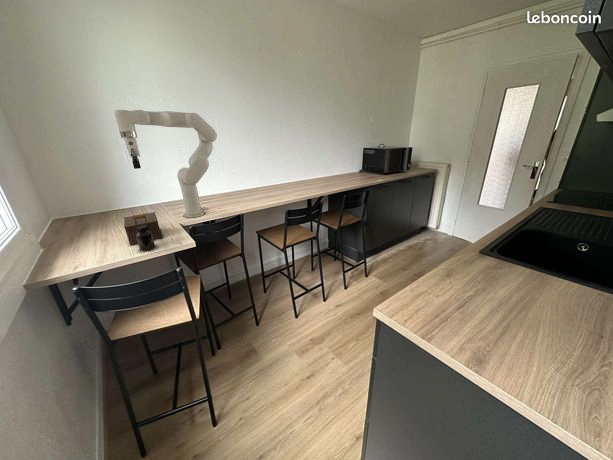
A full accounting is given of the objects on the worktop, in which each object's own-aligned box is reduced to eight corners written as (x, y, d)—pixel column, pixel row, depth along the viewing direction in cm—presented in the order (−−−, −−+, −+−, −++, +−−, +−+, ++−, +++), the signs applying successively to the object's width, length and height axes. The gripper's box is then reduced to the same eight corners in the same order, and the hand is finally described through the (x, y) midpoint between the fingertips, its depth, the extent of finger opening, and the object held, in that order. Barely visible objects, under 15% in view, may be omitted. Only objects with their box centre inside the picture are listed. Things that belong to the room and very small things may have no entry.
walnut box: (162, 238, 138) (157, 221, 134) (130, 245, 130) (124, 228, 126) (159, 229, 150) (155, 213, 146) (130, 235, 142) (124, 218, 138)
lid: (158, 222, 133) (155, 213, 131) (124, 228, 125) (121, 218, 123) (155, 213, 146) (152, 204, 143) (124, 218, 138) (121, 209, 136)
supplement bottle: (157, 248, 127) (151, 226, 122) (142, 253, 122) (135, 230, 118) (152, 244, 131) (146, 223, 126) (138, 248, 127) (131, 227, 122)
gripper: (137, 135, 131) (145, 168, 138) (136, 134, 144) (144, 164, 151) (120, 136, 127) (129, 170, 134) (120, 134, 140) (129, 165, 147)
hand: (137, 167), depth 142 cm, fingers open, 9 cm apart
